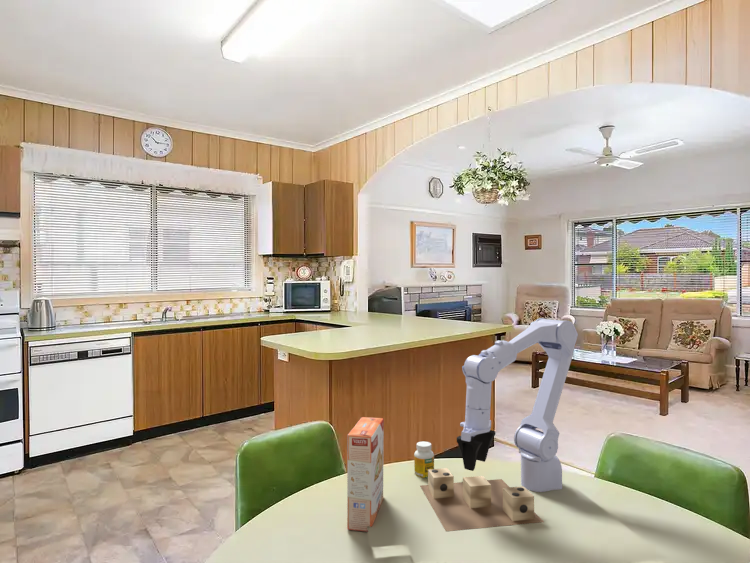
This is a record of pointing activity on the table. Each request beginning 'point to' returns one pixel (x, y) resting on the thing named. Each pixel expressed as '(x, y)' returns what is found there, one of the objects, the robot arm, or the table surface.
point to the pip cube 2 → (518, 503)
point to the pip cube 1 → (440, 483)
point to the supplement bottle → (423, 459)
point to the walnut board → (473, 509)
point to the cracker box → (364, 473)
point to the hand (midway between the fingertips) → (475, 464)
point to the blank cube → (477, 492)
